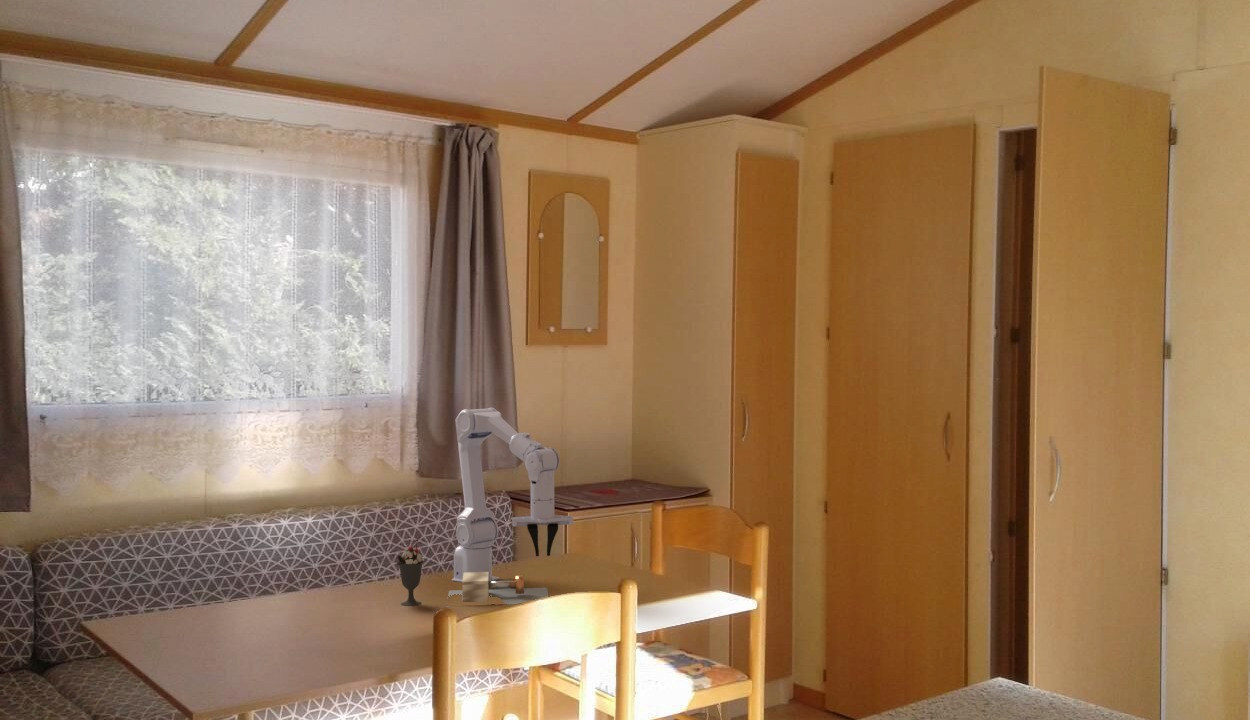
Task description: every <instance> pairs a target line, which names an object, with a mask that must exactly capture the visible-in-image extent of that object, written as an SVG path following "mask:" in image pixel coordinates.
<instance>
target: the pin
mask: <svg viewBox="0 0 1250 720" xmlns="http://www.w3.org/2000/svg"><path fill="white" fill-rule="evenodd" d="M514 579H515V580H495V581H488V590H497V589H516V594H524V588H525V575H524V574H521V575H520V574H519V575H517V574H516V575H515V578H514Z"/></svg>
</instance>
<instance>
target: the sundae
mask: <svg viewBox="0 0 1250 720" xmlns="http://www.w3.org/2000/svg"><path fill="white" fill-rule="evenodd" d="M418 541H419V539H415V541H414V543H413V544H412V545H411V546H408V549H406V550H404V551H403V552H402V554H398V555H397V557H396V558H397V559H398V560H396V563H395V564H396V565H397V566H398V567H399V571H400V579H401V583H402V584H401V585H402V586H403V587H404V588H405V589H407V591H408V596H407V600H405V601H403V602H401V603H400V605H401V606H404V607H416V606H420V605H422V602H421V601H419V600H416V599H415V595H414V590H415V589H416V588H417V587H418V586H419V585H420V584H421V583H420V582H421V577H422V576H421V575H422V567H423V563H425V562H426V560H423V556H422V555H421V553H420V550H419V548H418V547H417V544H418ZM414 545H415V548H414V547H413V546H414Z"/></svg>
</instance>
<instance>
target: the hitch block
mask: <svg viewBox="0 0 1250 720" xmlns="http://www.w3.org/2000/svg"><path fill="white" fill-rule="evenodd" d="M488 581H489V572H467V573H463V581H462V582H461V583H462V584H461V585H462V586H461V587H462V589H461V590H462V600H463V602H488V597H489V590H488Z"/></svg>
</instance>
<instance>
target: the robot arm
mask: <svg viewBox="0 0 1250 720" xmlns="http://www.w3.org/2000/svg"><path fill="white" fill-rule="evenodd" d="M456 416H457V417H455V420H454V421H455V429H456V438H457V445H458V446H457V447H458V454H459V463H460V474H461V484H462V492H463V494H462V495H463V501H464V510H463V511H462V512H461V513H460V514H459V515H458V516H457V518H456V523H457V526H456V531H455V536H456V540H457V542H458V544H459V545H458V546H457V547H456V548H455V549H454V553H453V578H452V579H451V581H452V582H458V583H459V582H460V583H462V581H463V573H467V572H489V581H499V580H500V577H498V576H493V564H492V563H493V556H492V555H493V553H492V549H493V547H492V546H494V545H495V542H496V541H497V539H498V537H499V527H498V523H497V522H496V516H495V513H494V511H492V510H491V509H490V508H488V507H487V502H486V493H485V484H484V475H483V474H484V473H483V467H482V455H481V445H482V443H483V442H484V441H485V440H486V439H488V438H489V437H490V436H491V435H495V436H496V437H498V438H499V439H501V440H502V441H504V442H505V443H506V444H508V446H509V451H510V452H511V453H512V454H513V455H515V456H516V457H517V458H518V459H520V461H522V462H523V463H524V464H525V468H526V469H525V470H526V471H527V474H528V476H527V478H528V480H529V481H530V515H527V516H514V517H513V516H512V518H511V521H512V522H511V524H512V525H511V526H512V527H520V526H521V527H523V526H524V527H525V526H526V528H527V531H528V533H529V535H530V538H531V540H532V543H533V547H534V550H535V551H534V552H535V557H540V549H539V526H546V527H547V531H546V532H547V533H546V534H547V535H546V536H547V542H546V544H547V545H546V556H547V557H551V551H552V545H553V542H554V540H555V537H556V535H557V533H558V531H559V526H562V525H563V526H564V525H566V526H567V525H568V526H573V525H574V516H573V515H555V471H556V470H558V469H559V465H560V456H559V453H558V452H557V451H556V449H555V448H554V447H550V446H549V447H545V446H543V444H542V443H540V442H538V441H536V440H535V439H534V438H533V437H531V433H529V432H519V433H518V431H516V430H515V429H514V428H513V427H512V426H511V425H510V424H509V423H508V422H507V421H506V420H504V418H503V416H502V413H501V412H500V411H498V410H497V409H496V408H494V407H488V408H477V409H476V408H473V409H462V410H461V411H460V412H459V413H458V415H456ZM475 519H476V520H475Z"/></svg>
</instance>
